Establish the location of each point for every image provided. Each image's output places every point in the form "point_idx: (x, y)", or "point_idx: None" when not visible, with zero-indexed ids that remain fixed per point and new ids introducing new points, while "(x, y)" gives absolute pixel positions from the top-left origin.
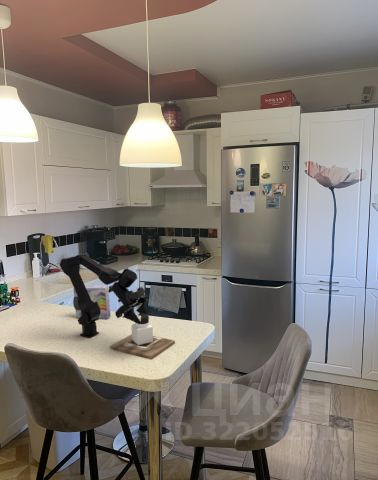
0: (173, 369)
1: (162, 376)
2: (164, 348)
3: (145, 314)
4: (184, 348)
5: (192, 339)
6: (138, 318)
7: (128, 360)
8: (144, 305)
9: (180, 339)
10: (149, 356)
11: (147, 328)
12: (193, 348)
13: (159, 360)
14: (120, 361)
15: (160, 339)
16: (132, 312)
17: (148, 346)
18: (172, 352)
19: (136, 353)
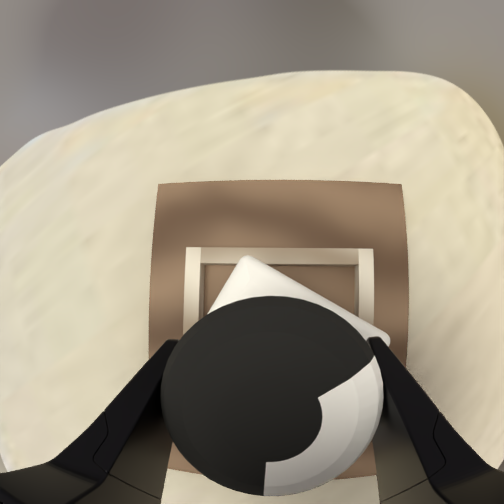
0: (403, 74)
1: (458, 91)
2: (272, 182)
3: (216, 372)
4: (205, 116)
5: (100, 146)
6: (382, 390)
7: (457, 290)
8: (57, 484)
9: (113, 193)
10: (401, 198)
11: (299, 284)
12: (190, 88)
13: (383, 150)
14: (477, 318)
15: (201, 247)
16: (483, 477)
17: (340, 251)
18: (274, 138)
19: (406, 290)
